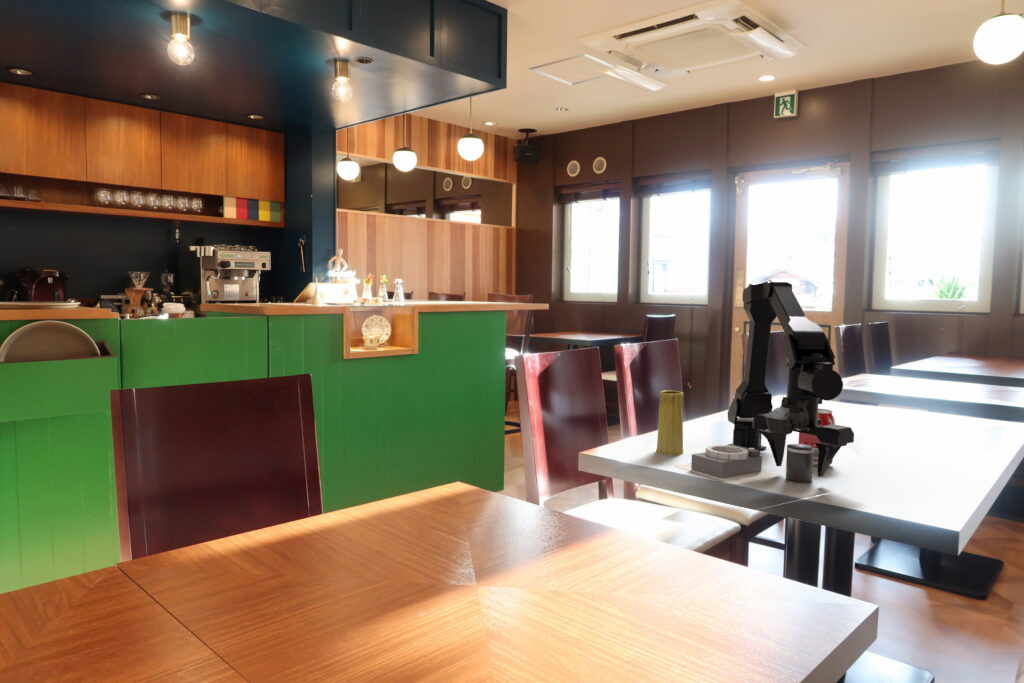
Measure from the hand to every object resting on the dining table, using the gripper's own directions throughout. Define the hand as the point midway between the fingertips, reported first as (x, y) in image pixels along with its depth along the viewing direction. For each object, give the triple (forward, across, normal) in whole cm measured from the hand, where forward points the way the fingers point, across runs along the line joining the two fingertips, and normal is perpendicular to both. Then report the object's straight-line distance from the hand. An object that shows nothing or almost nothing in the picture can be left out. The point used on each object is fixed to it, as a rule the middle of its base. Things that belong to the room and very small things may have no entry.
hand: (799, 471), depth 134 cm
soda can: (+2, -7, +16) cm, 18 cm away
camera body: (+2, -12, -7) cm, 14 cm away
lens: (+2, 0, 0) cm, 2 cm away
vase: (+2, -30, -5) cm, 30 cm away
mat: (+2, -12, -7) cm, 14 cm away
